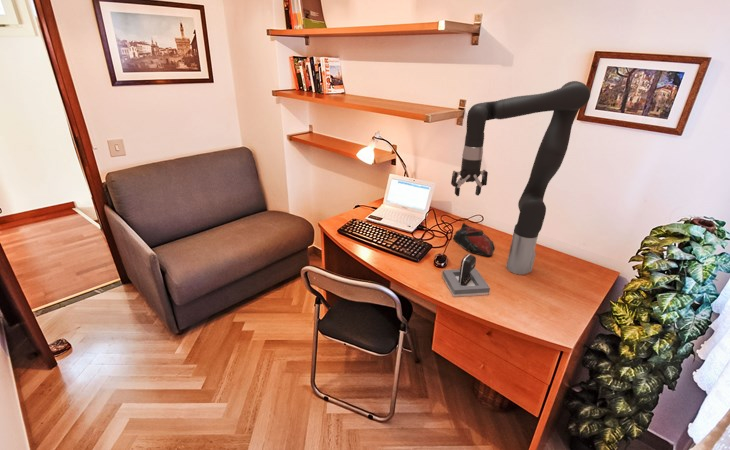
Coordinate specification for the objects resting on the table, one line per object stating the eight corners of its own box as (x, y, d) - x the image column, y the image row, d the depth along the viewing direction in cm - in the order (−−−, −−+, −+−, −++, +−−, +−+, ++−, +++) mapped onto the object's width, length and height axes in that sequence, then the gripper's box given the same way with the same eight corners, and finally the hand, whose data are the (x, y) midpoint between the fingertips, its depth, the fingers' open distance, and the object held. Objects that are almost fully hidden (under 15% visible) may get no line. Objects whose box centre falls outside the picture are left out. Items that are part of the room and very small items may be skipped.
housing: (474, 274, 152) (475, 268, 151) (488, 294, 139) (490, 288, 138) (442, 276, 150) (442, 270, 149) (453, 296, 138) (454, 290, 137)
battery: (466, 287, 141) (470, 262, 137) (457, 284, 144) (461, 259, 139) (473, 279, 147) (477, 255, 142) (464, 276, 149) (468, 252, 144)
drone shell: (454, 232, 188) (456, 218, 184) (494, 238, 182) (497, 224, 179) (449, 251, 169) (451, 236, 166) (493, 259, 164) (497, 243, 160)
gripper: (458, 159, 140) (453, 199, 147) (493, 158, 142) (487, 197, 149) (451, 155, 147) (447, 192, 154) (485, 154, 149) (480, 191, 156)
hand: (467, 195), depth 152 cm, fingers open, 8 cm apart
